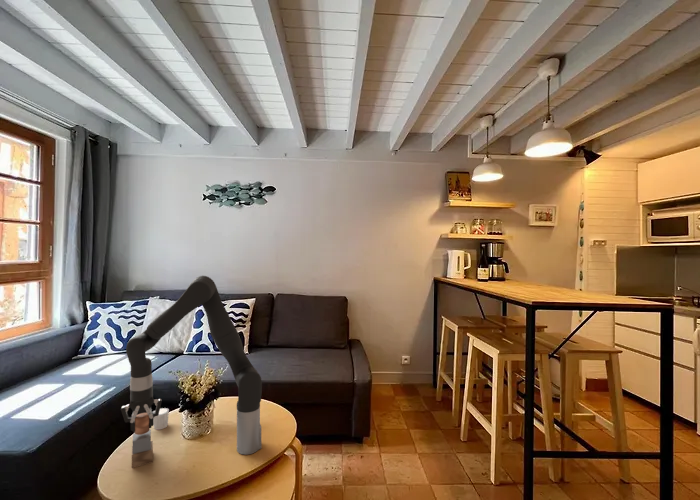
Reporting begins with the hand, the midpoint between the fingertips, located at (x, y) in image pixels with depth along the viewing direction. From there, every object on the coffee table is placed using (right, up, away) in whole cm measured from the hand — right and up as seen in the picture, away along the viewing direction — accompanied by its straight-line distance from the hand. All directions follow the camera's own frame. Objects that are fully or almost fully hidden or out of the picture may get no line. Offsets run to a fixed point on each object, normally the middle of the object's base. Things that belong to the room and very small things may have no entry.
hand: (142, 428), depth 139 cm
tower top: (0, -8, 0) cm, 8 cm away
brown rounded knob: (0, -1, 0) cm, 1 cm away
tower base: (0, -13, +1) cm, 13 cm away
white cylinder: (-6, -11, +25) cm, 28 cm away
